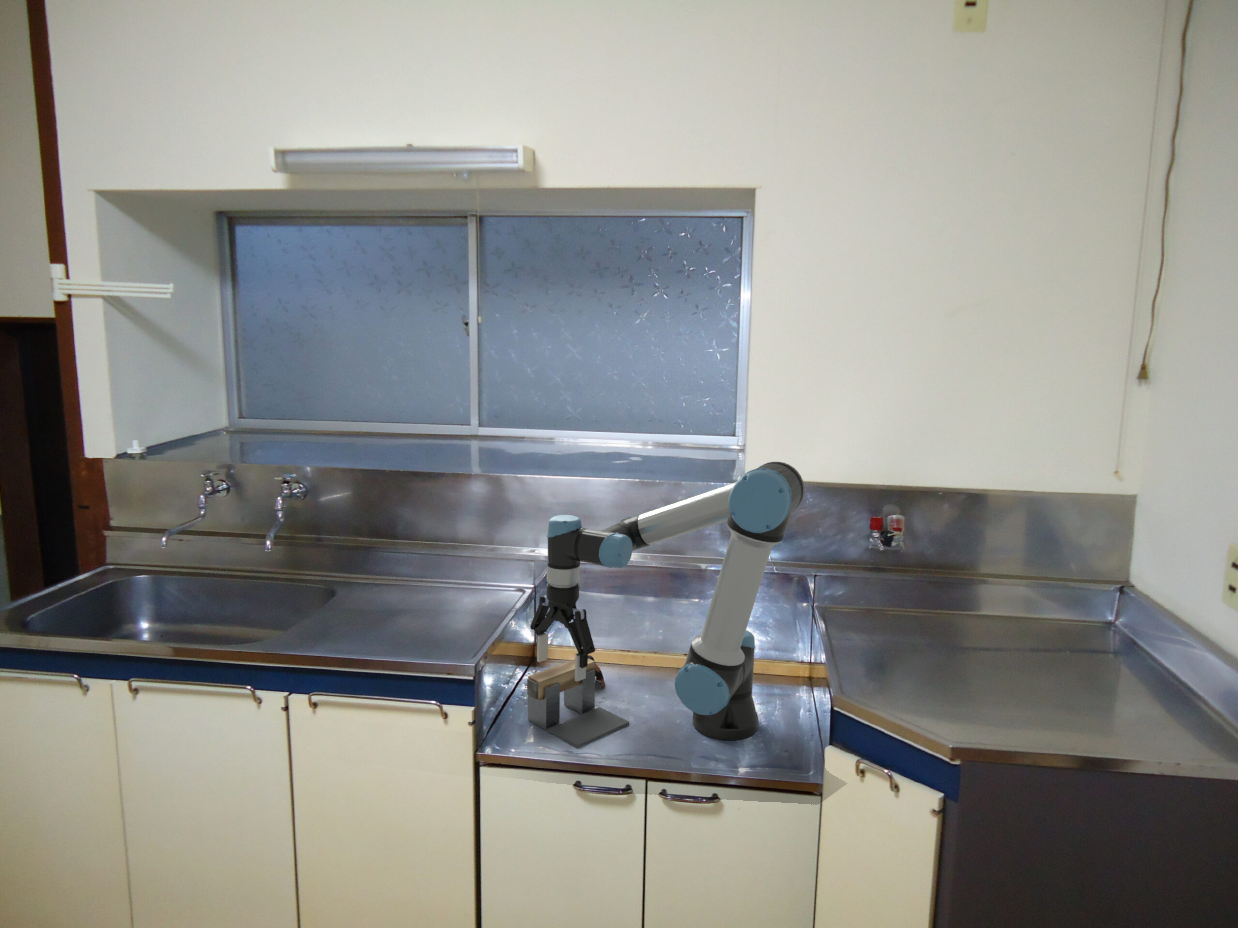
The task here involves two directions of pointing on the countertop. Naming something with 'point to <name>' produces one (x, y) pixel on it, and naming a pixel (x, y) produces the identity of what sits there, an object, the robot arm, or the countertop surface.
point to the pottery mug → (598, 673)
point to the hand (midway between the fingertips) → (560, 669)
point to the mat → (588, 727)
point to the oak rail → (554, 678)
